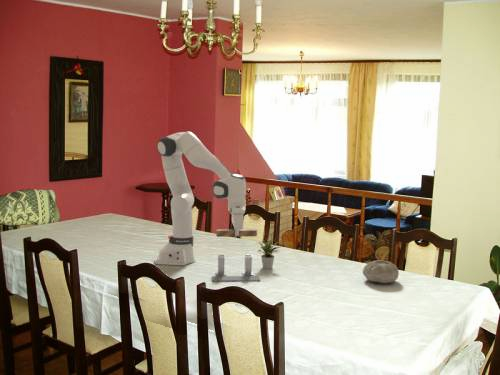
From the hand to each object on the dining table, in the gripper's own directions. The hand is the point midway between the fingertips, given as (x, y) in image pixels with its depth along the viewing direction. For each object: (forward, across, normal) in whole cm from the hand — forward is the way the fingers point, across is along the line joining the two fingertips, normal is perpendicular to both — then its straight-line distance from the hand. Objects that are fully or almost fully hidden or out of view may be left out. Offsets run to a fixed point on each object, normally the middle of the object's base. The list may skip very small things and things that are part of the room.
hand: (236, 234), depth 299 cm
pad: (+23, 0, 0) cm, 23 cm away
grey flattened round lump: (+24, +6, +73) cm, 77 cm away
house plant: (+23, -20, +18) cm, 36 cm away
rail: (+1, 0, 0) cm, 1 cm away
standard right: (+23, -8, +7) cm, 25 cm away
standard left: (+23, -8, -7) cm, 25 cm away
